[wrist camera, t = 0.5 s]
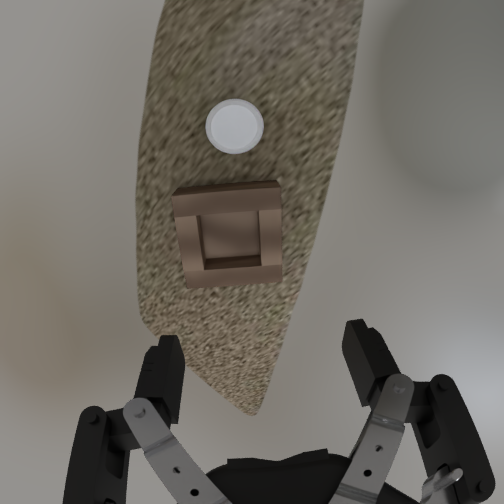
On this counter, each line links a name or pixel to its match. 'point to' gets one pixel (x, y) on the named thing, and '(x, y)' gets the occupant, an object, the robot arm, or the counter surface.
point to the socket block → (229, 233)
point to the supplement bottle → (234, 126)
